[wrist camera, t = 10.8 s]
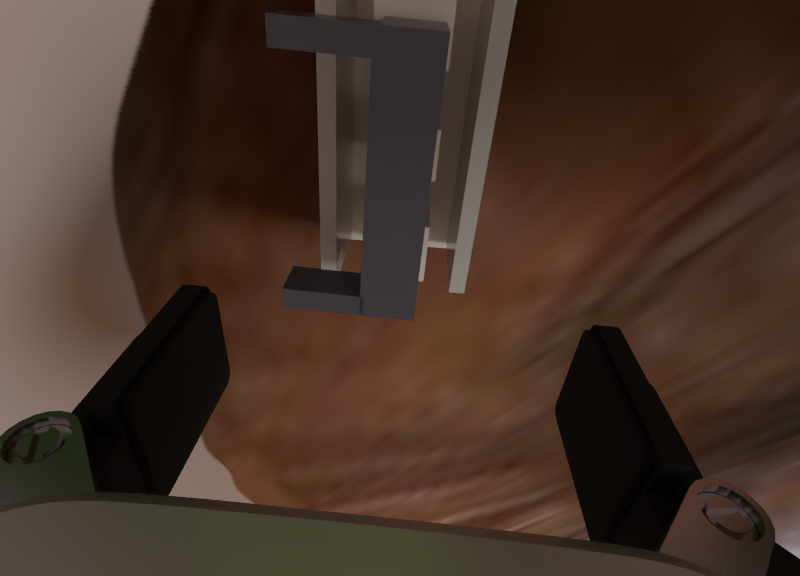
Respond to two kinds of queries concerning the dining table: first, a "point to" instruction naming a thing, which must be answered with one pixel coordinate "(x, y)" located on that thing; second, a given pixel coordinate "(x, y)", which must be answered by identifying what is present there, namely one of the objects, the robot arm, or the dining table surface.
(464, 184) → the stand
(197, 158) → the dining table surface
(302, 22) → the grey bracket
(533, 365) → the dining table surface
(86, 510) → the robot arm
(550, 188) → the dining table surface
